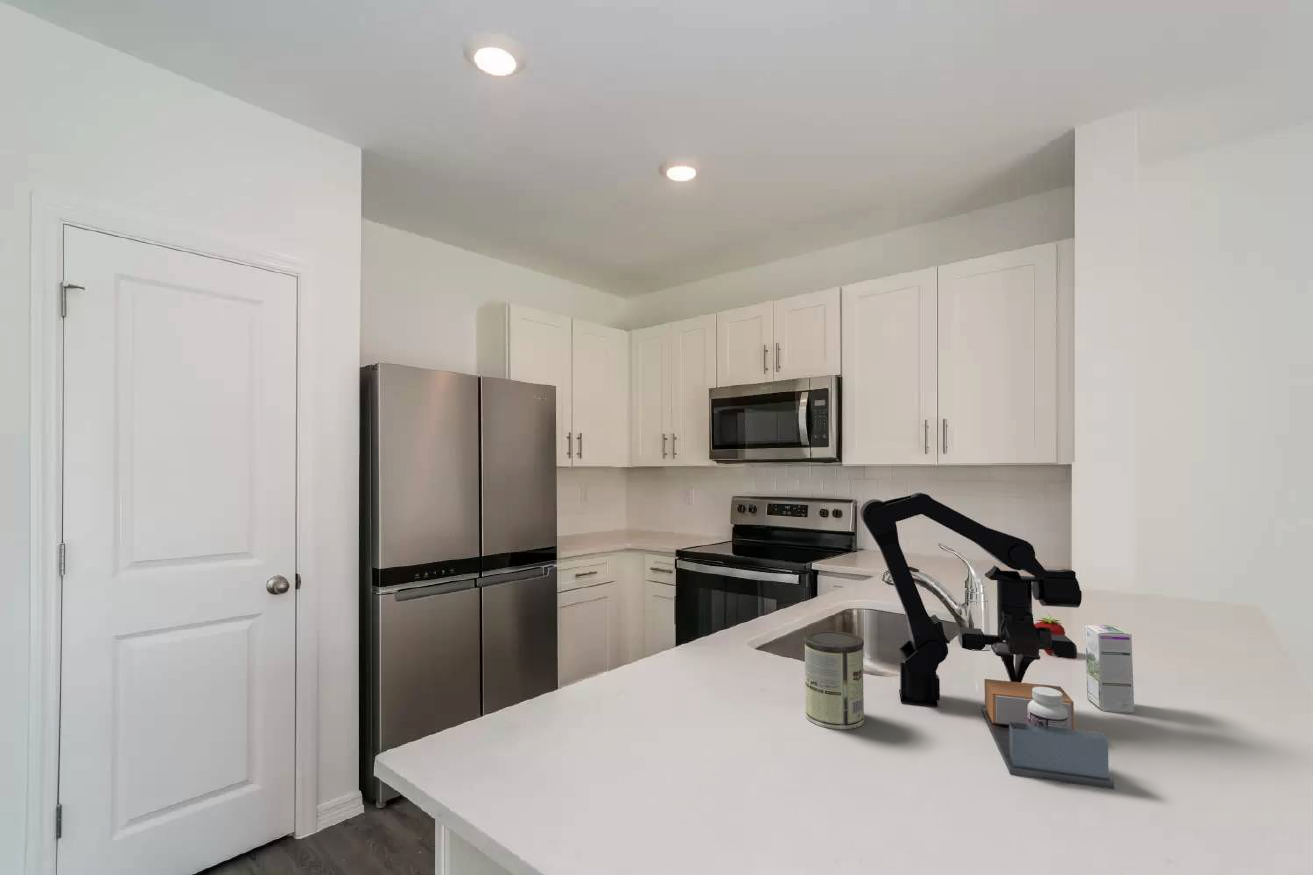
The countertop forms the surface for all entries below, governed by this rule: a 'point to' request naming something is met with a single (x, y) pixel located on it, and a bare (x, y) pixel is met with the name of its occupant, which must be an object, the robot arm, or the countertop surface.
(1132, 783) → the countertop surface
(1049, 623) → the strawberry
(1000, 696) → the block
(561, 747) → the countertop surface
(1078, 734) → the base
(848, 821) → the countertop surface
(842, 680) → the coffee can
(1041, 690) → the pill bottle
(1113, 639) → the syrup box
